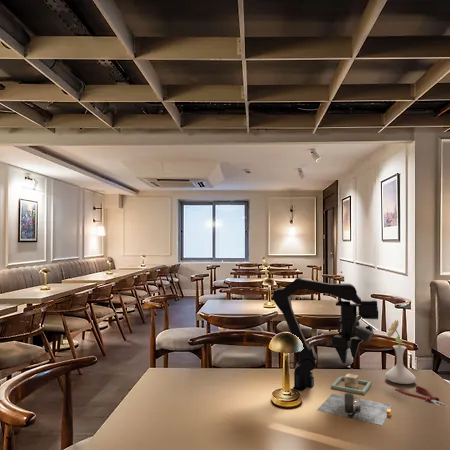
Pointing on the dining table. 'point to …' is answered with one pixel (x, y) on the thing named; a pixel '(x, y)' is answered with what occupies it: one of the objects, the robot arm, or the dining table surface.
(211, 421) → the dining table surface
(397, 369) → the flower in vase
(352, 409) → the crank
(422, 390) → the pliers
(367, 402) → the base
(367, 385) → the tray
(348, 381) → the block
